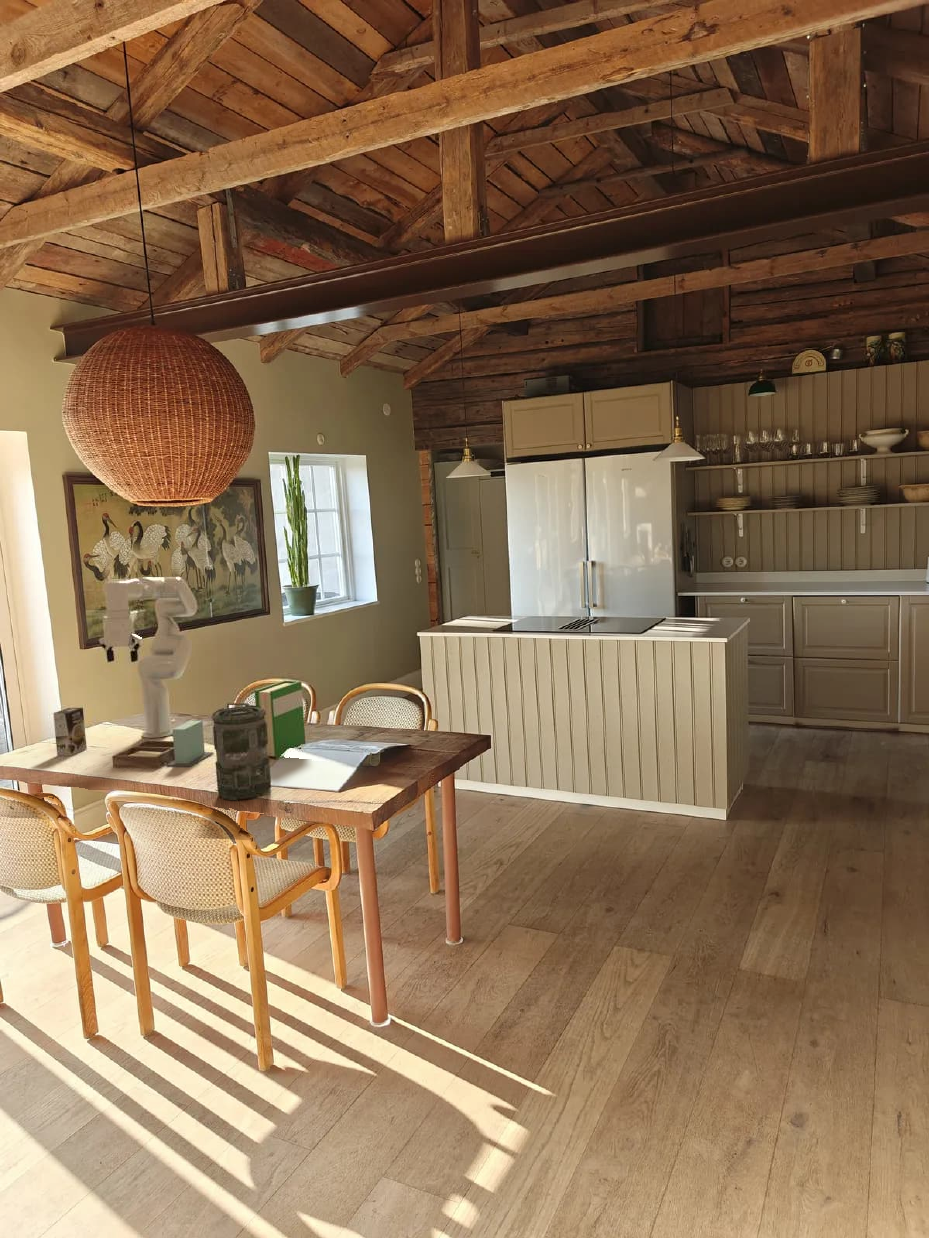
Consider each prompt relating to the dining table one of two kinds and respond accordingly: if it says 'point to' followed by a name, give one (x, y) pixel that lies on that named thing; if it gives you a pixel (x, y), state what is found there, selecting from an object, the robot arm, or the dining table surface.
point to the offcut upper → (145, 753)
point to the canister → (241, 751)
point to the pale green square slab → (188, 741)
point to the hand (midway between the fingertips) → (122, 661)
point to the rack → (145, 761)
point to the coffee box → (70, 731)
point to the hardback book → (282, 715)
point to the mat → (189, 762)
